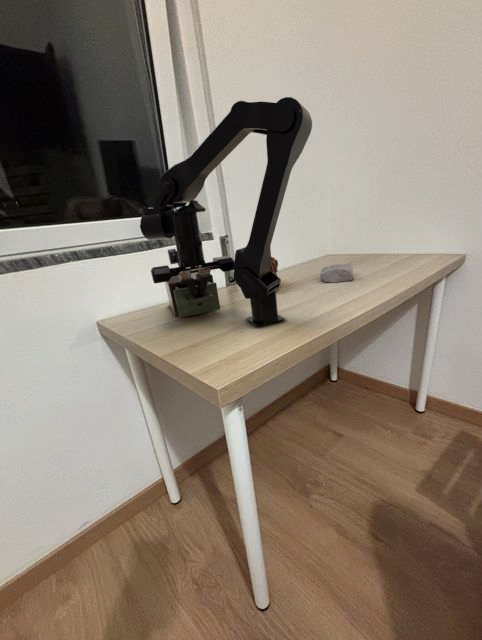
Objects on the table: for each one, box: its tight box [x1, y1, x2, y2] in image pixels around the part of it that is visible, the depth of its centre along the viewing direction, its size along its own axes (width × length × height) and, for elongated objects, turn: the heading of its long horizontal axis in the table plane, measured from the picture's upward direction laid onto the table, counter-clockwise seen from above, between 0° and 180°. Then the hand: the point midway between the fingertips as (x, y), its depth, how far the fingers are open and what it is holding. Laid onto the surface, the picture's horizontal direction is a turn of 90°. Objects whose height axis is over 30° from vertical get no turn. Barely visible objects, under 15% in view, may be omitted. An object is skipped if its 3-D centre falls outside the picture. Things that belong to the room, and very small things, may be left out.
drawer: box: [172, 281, 221, 319], centre depth 79 cm, size 17×10×7 cm, turn 19°
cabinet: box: [164, 272, 215, 317], centre depth 86 cm, size 14×12×9 cm
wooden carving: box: [270, 256, 279, 276], centre depth 97 cm, size 16×5×10 cm, turn 0°
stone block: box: [319, 263, 354, 283], centre depth 99 cm, size 12×5×10 cm
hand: (199, 305), depth 74 cm, fingers closed, pressing on drawer
